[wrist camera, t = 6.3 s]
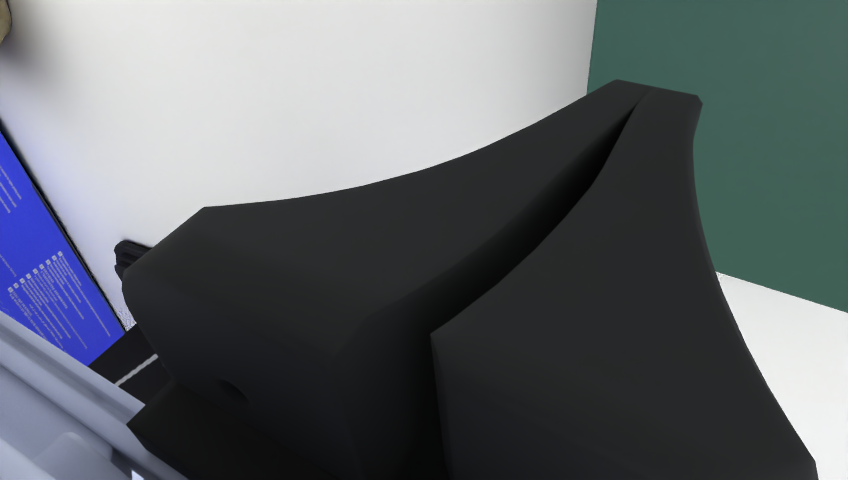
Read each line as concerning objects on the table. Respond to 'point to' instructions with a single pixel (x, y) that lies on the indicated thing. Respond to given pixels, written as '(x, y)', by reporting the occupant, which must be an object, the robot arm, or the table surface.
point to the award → (132, 348)
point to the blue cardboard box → (47, 272)
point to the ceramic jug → (4, 20)
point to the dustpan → (752, 126)
